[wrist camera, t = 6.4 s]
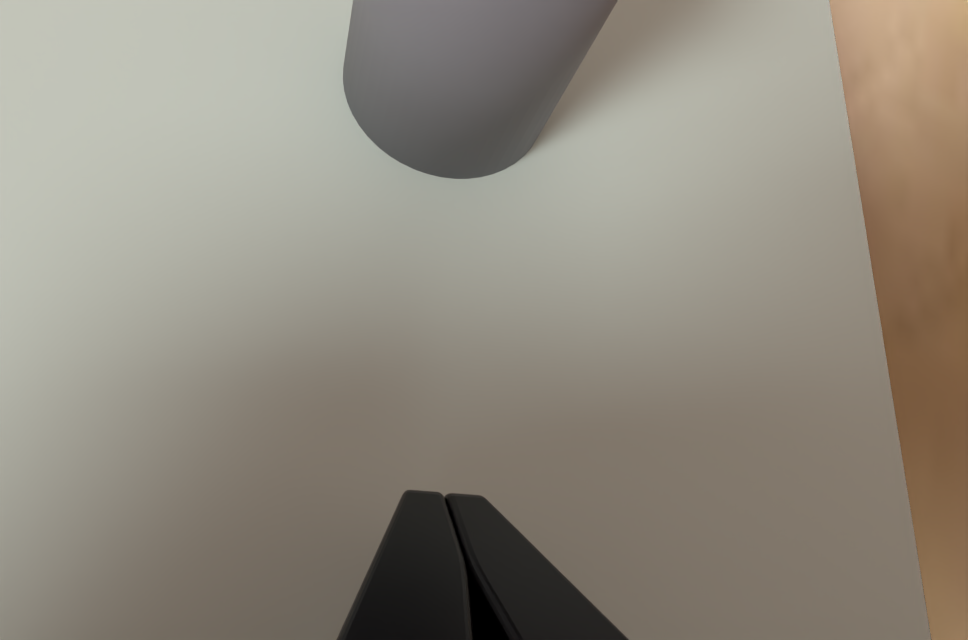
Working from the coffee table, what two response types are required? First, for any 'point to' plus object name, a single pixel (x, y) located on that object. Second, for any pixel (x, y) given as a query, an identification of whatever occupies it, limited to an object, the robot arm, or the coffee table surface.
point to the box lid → (439, 313)
